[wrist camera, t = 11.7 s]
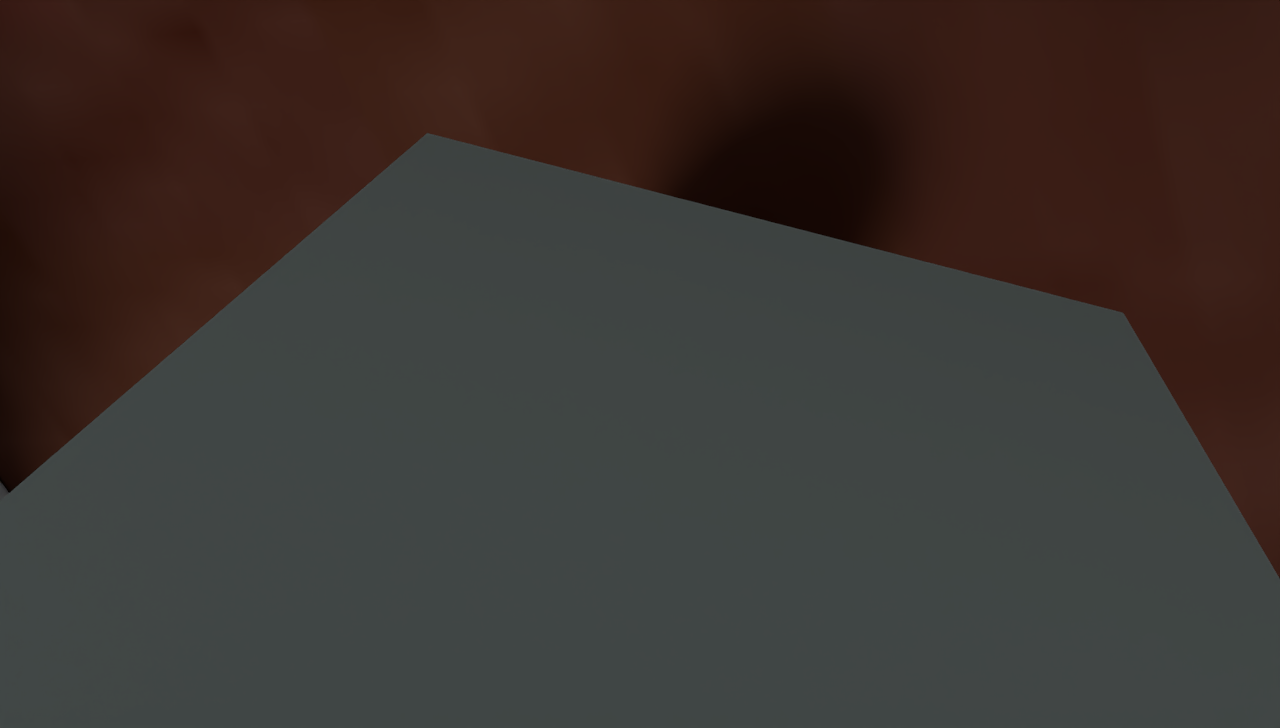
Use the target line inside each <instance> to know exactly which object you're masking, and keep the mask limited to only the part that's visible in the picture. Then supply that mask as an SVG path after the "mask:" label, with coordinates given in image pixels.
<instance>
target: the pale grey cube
mask: <svg viewBox="0 0 1280 728" xmlns="http://www.w3.org/2000/svg"><path fill="white" fill-rule="evenodd" d="M0 728H1280V579H1279V577H1278V575H1277V574H1276V572H1275V570H1274V568H1273V567H1272V565H1271V563H1270V562H1269V560H1268V558H1267V557H1266V555H1265V553H1264V551H1263V550H1262V548H1261V546H1260V545H1259V543H1258V541H1257V540H1256V538H1255V536H1254V534H1253V533H1252V531H1251V529H1250V528H1249V526H1248V524H1247V523H1246V521H1245V519H1244V517H1243V516H1242V514H1241V512H1240V511H1239V509H1238V507H1237V506H1236V504H1235V502H1234V500H1233V499H1232V497H1231V495H1230V494H1229V492H1228V490H1227V489H1226V487H1225V485H1224V483H1223V482H1222V480H1221V478H1220V477H1219V475H1218V473H1217V472H1216V470H1215V468H1214V466H1213V465H1212V463H1211V461H1210V460H1209V458H1208V456H1207V455H1206V453H1205V451H1204V449H1203V448H1202V446H1201V444H1200V443H1199V441H1198V439H1197V438H1196V436H1195V434H1194V432H1193V431H1192V429H1191V427H1190V426H1189V424H1188V422H1187V421H1186V419H1185V417H1184V415H1183V414H1182V412H1181V410H1180V409H1179V407H1178V405H1177V404H1176V402H1175V400H1174V398H1173V397H1172V395H1171V393H1170V392H1169V390H1168V388H1167V387H1166V385H1165V383H1164V381H1163V380H1162V378H1161V376H1160V375H1159V373H1158V371H1157V369H1156V368H1155V366H1154V364H1153V363H1152V361H1151V359H1150V358H1149V356H1148V354H1147V352H1146V351H1145V349H1144V347H1143V346H1142V344H1141V342H1140V341H1139V339H1138V337H1137V335H1136V334H1135V332H1134V330H1133V329H1132V327H1131V325H1130V324H1129V322H1128V320H1127V318H1126V317H1125V315H1124V313H1122V312H1118V311H1114V310H1110V309H1106V308H1102V307H1098V306H1095V305H1091V304H1087V303H1083V302H1079V301H1075V300H1071V299H1067V298H1064V297H1060V296H1056V295H1052V294H1048V293H1044V292H1040V291H1036V290H1033V289H1029V288H1025V287H1021V286H1017V285H1013V284H1009V283H1005V282H1002V281H998V280H994V279H990V278H986V277H982V276H978V275H974V274H971V273H967V272H963V271H959V270H955V269H951V268H947V267H944V266H940V265H936V264H932V263H928V262H924V261H920V260H916V259H913V258H909V257H905V256H901V255H897V254H893V253H889V252H885V251H882V250H878V249H874V248H870V247H866V246H862V245H858V244H854V243H851V242H847V241H843V240H839V239H835V238H831V237H827V236H824V235H820V234H816V233H812V232H808V231H804V230H800V229H796V228H793V227H789V226H785V225H781V224H777V223H773V222H769V221H765V220H762V219H758V218H754V217H750V216H746V215H742V214H738V213H734V212H731V211H727V210H723V209H719V208H715V207H711V206H707V205H703V204H700V203H696V202H692V201H688V200H684V199H680V198H676V197H673V196H669V195H665V194H661V193H657V192H653V191H649V190H645V189H642V188H638V187H634V186H630V185H626V184H622V183H618V182H614V181H611V180H607V179H603V178H599V177H595V176H591V175H587V174H583V173H580V172H576V171H572V170H568V169H564V168H560V167H556V166H552V165H549V164H545V163H541V162H537V161H533V160H529V159H525V158H522V157H518V156H514V155H510V154H506V153H502V152H498V151H494V150H491V149H487V148H483V147H479V146H475V145H471V144H467V143H463V142H460V141H456V140H452V139H448V138H444V137H440V136H436V135H432V134H429V133H427V134H426V135H425V136H423V137H422V138H421V139H420V140H419V141H418V142H417V143H415V144H414V145H413V146H412V147H411V148H410V149H408V150H407V151H406V152H405V153H404V154H403V155H401V156H400V157H399V158H398V159H397V160H396V161H394V162H393V163H392V164H391V165H390V166H389V167H387V168H386V169H385V170H384V171H383V172H382V173H380V174H379V175H378V176H377V177H376V178H375V179H374V180H372V181H371V182H370V183H369V184H368V185H367V186H365V187H364V188H363V189H362V190H361V191H360V192H358V193H357V194H356V195H355V196H354V197H353V198H351V199H350V200H349V201H348V202H347V203H346V204H344V205H343V206H342V207H341V208H340V209H339V210H337V211H336V212H335V213H334V214H333V215H332V216H331V217H329V218H328V219H327V220H326V221H325V222H324V223H322V224H321V225H320V226H319V227H318V228H317V229H315V230H314V231H313V232H312V233H311V234H310V235H308V236H307V237H306V238H305V239H304V240H303V241H301V242H300V243H299V244H298V245H297V246H296V247H295V248H293V249H292V250H291V251H290V252H289V253H288V254H286V255H285V256H284V257H283V258H282V259H281V260H279V261H278V262H277V263H276V264H275V265H274V266H272V267H271V268H270V269H269V270H268V271H267V272H265V273H264V274H263V275H262V276H261V277H260V278H258V279H257V280H256V281H255V282H254V283H253V284H252V285H250V286H249V287H248V288H247V289H246V290H245V291H243V292H242V293H241V294H240V295H239V296H238V297H236V298H235V299H234V300H233V301H232V302H231V303H229V304H228V305H227V306H226V307H225V308H224V309H222V310H221V311H220V312H219V313H218V314H217V315H216V316H214V317H213V318H212V319H211V320H210V321H209V322H207V323H206V324H205V325H204V326H203V327H202V328H200V329H199V330H198V331H197V332H196V333H195V334H193V335H192V336H191V337H190V338H189V339H188V340H186V341H185V342H184V343H183V344H182V345H181V346H179V347H178V348H177V349H176V350H175V351H174V352H173V353H171V354H170V355H169V356H168V357H167V358H166V359H164V360H163V361H162V362H161V363H160V364H159V365H157V366H156V367H155V368H154V369H153V370H152V371H150V372H149V373H148V374H147V375H146V376H145V377H143V378H142V379H141V380H140V381H139V382H138V383H137V384H135V385H134V386H133V387H132V388H131V389H130V390H128V391H127V392H126V393H125V394H124V395H123V396H121V397H120V398H119V399H118V400H117V401H116V402H114V403H113V404H112V405H111V406H110V407H109V408H107V409H106V410H105V411H104V412H103V413H102V414H100V415H99V416H98V417H97V418H96V419H95V420H94V421H92V422H91V423H90V424H89V425H88V426H87V427H85V428H84V429H83V430H82V431H81V432H80V433H78V434H77V435H76V436H75V437H74V438H73V439H71V440H70V441H69V442H68V443H67V444H66V445H64V446H63V447H62V448H61V449H60V450H59V451H58V452H56V453H55V454H54V455H53V456H52V457H51V458H49V459H48V460H47V461H46V462H45V463H44V464H42V465H41V466H40V467H39V468H38V469H37V470H35V471H34V472H33V473H32V474H31V475H30V476H28V477H27V478H26V479H25V480H24V481H23V482H21V483H20V484H19V485H18V486H17V487H16V488H15V489H13V490H12V491H11V492H10V493H9V494H8V495H6V496H5V497H4V498H3V499H2V500H1V501H0Z"/></svg>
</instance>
